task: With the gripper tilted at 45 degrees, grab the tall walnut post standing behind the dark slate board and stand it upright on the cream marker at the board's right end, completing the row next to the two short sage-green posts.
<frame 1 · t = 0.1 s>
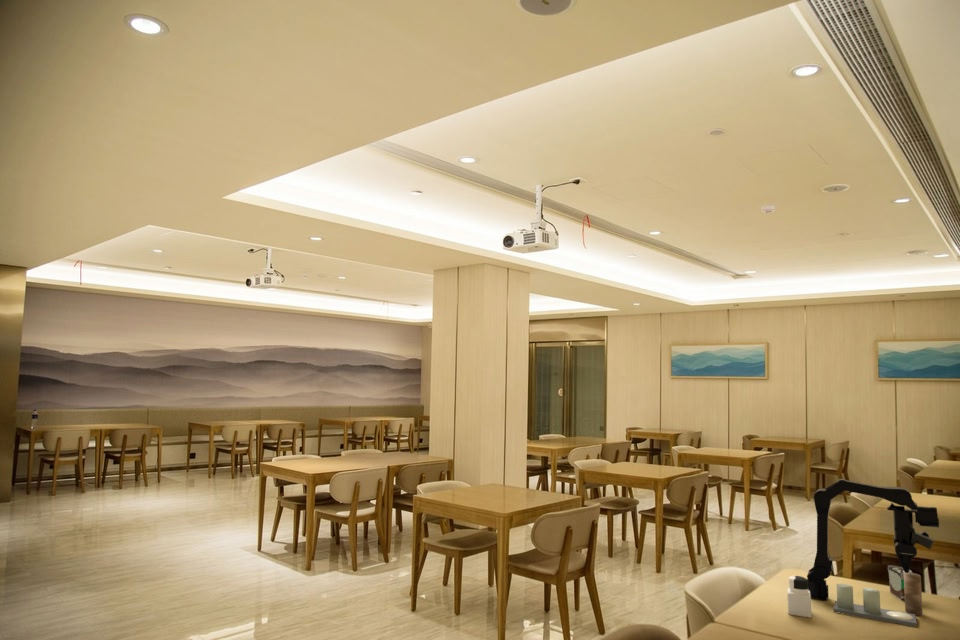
hand: (906, 569, 224), 15 cm above the table, tool pointing down, fingers open, 9 cm apart
sage posts: (858, 598, 222), on the slate board, point 5 cm above the table
food container: (904, 597, 239), on the table
medicine bottle: (799, 613, 219), on the table
slate board: (873, 615, 219), on the table
walnut post: (913, 612, 222), on the table
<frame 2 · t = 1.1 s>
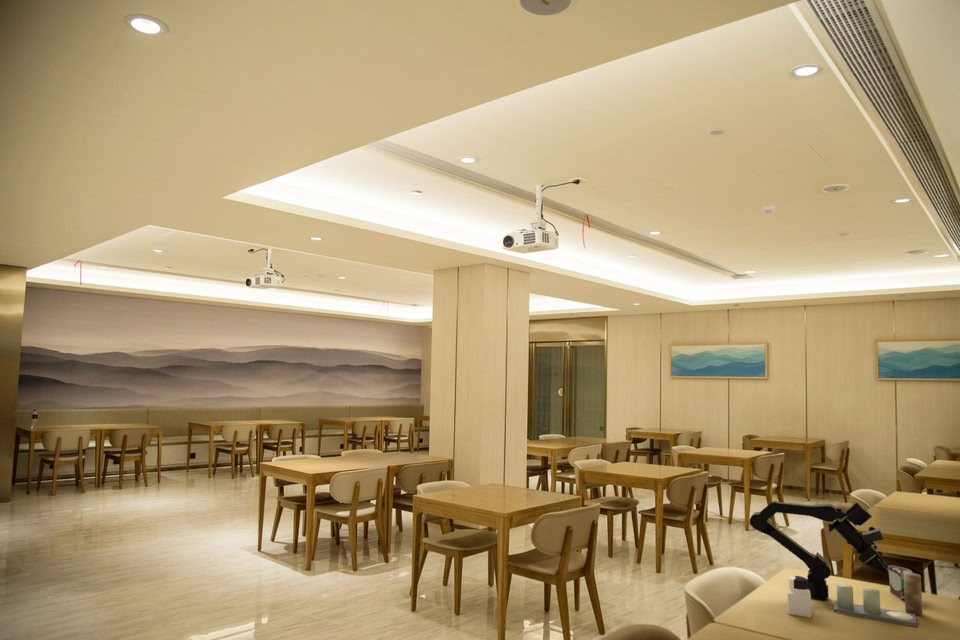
hand: (886, 570, 227), 13 cm above the table, tool tilted 45°, fingers open, 9 cm apart
nothing on the table moved.
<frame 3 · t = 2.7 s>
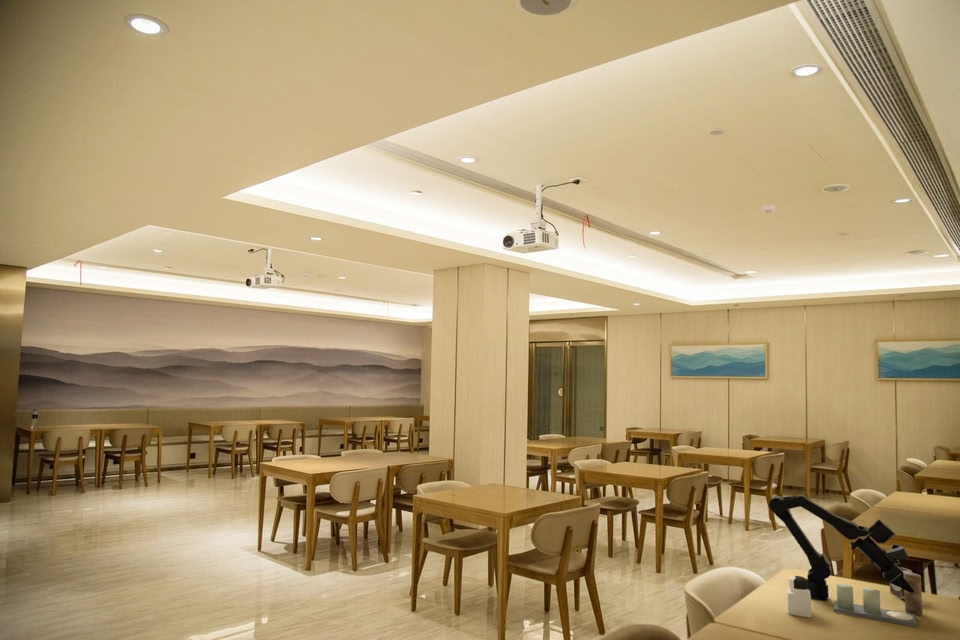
hand: (911, 588, 223), 8 cm above the table, tool tilted 45°, fingers open, 9 cm apart
nothing on the table moved.
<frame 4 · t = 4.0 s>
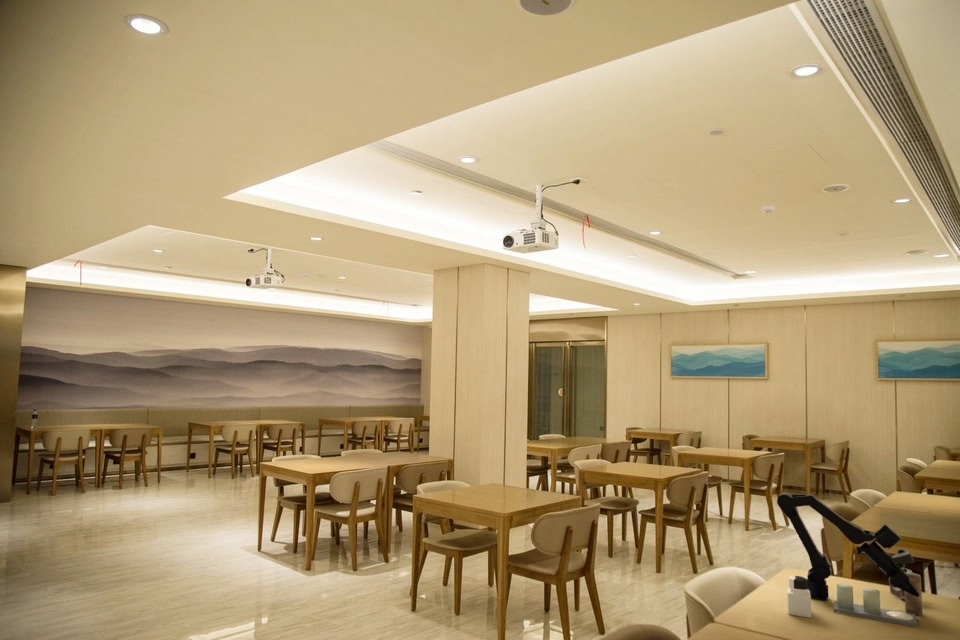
hand: (917, 594, 222), 7 cm above the table, tool tilted 45°, fingers closed on walnut post, 5 cm apart
walnut post: (914, 612, 222), on the table, touching gripper
everything else where it was.
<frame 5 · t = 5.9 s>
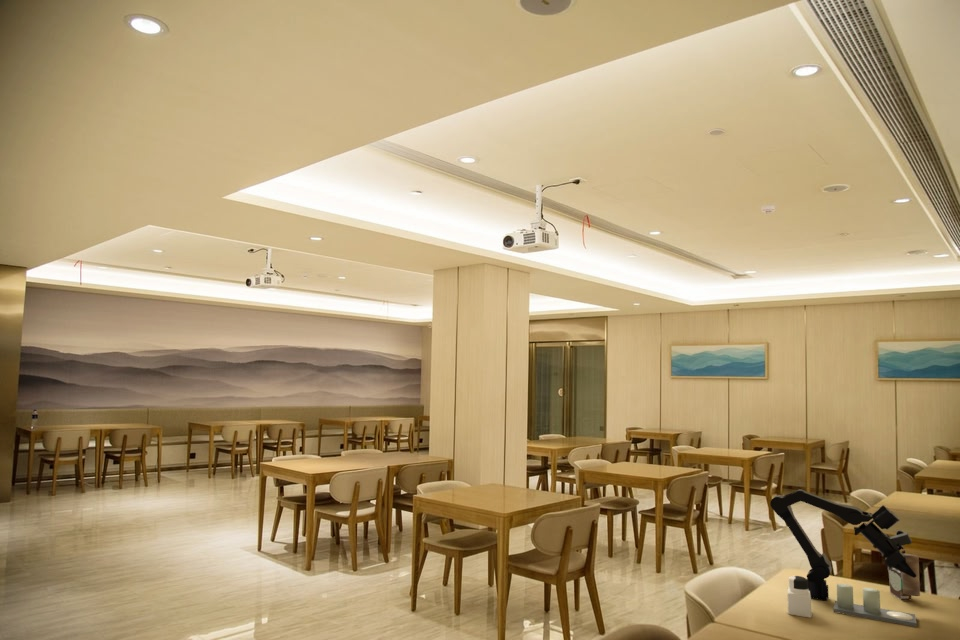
hand: (915, 575, 221), 13 cm above the table, tool tilted 45°, fingers closed on walnut post, 5 cm apart
walnut post: (911, 593, 221), point 7 cm above the table, touching gripper
everything else where it was.
when the fingers open (9 cm above the table, at t = 8.1 s): walnut post drops 1 cm, resting on slate board.
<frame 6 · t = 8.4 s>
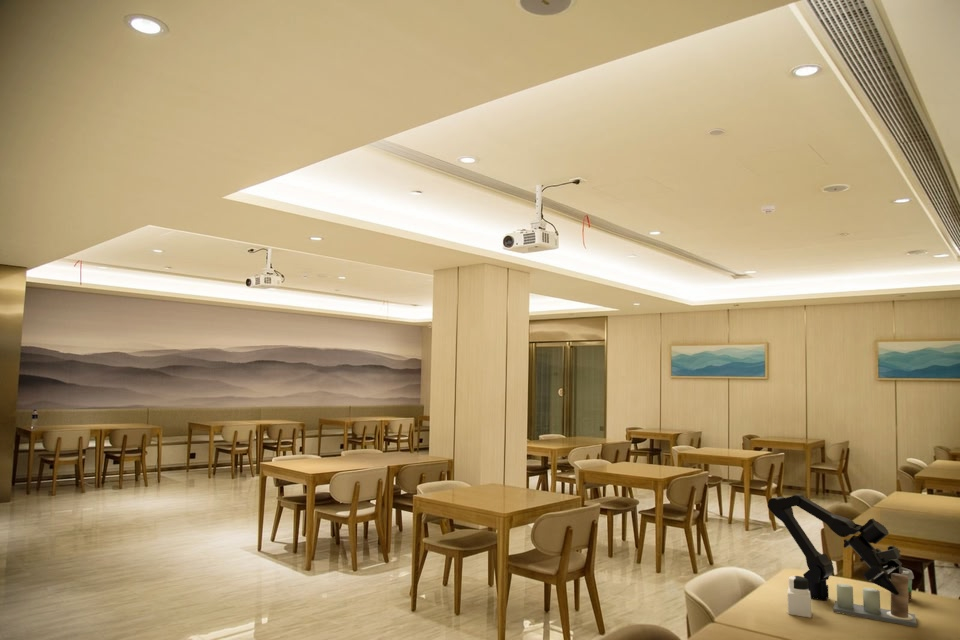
hand: (903, 592, 215), 9 cm above the table, tool tilted 45°, fingers open, 8 cm apart
walnut post: (899, 614, 215), point 2 cm above the table, touching slate board
everything else where it was.
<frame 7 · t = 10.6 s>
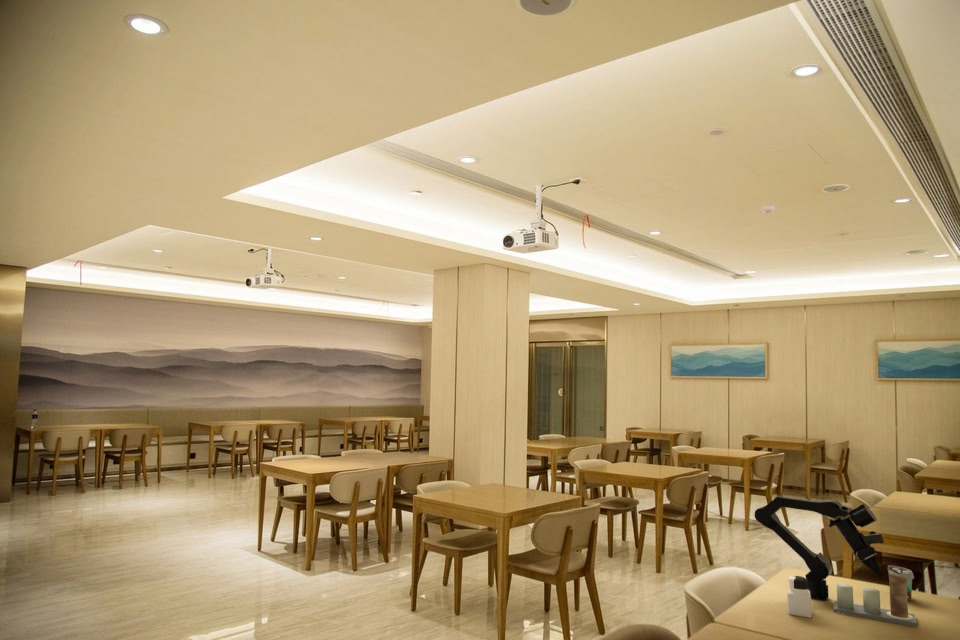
hand: (879, 574, 225), 12 cm above the table, tool tilted 35°, fingers open, 9 cm apart
nothing on the table moved.
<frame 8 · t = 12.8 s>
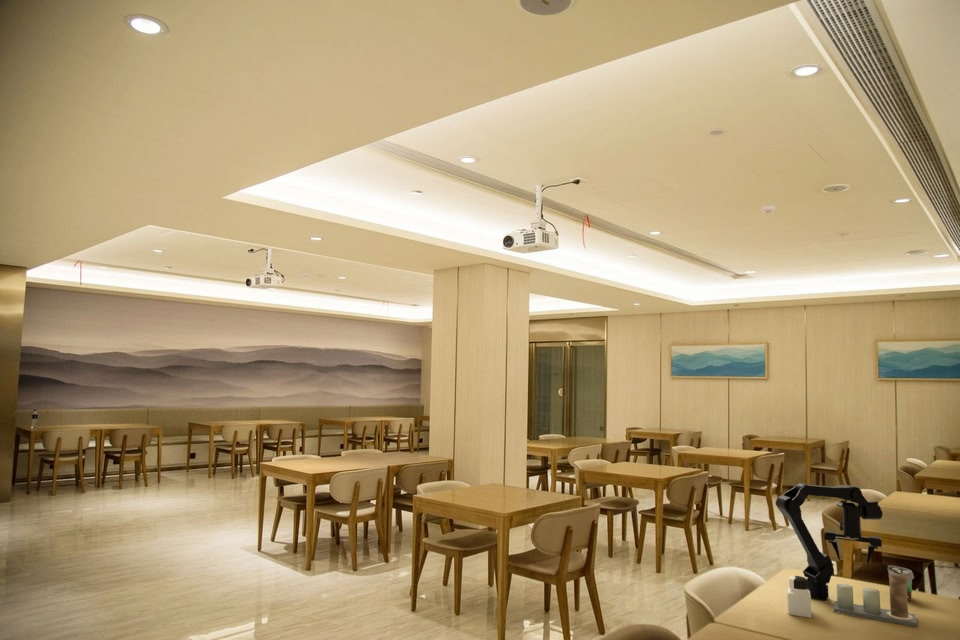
hand: (853, 561, 239), 13 cm above the table, tool pointing down, fingers open, 9 cm apart
nothing on the table moved.
at the end: walnut post 0.1 cm from the target spot, point 1.4 cm above the table; walnut post tilted 0°; the gripper is holding nothing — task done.
